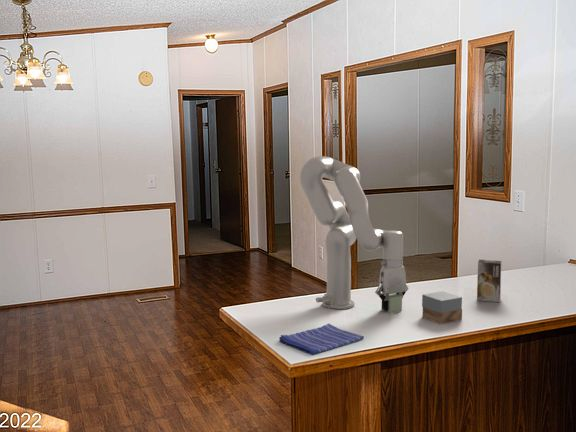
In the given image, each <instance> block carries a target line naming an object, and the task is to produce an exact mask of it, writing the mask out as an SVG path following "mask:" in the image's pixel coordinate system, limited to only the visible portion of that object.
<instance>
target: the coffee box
mask: <svg viewBox="0 0 576 432" xmlns="http://www.w3.org/2000/svg"><path fill="white" fill-rule="evenodd" d="M501 281H502V260H492V259H478V261H477V285H476V289H477V290H476V301H481V302H482V301H483V302H493V303H500V302H501V291H502V290H501V287H502V286H501V285H502V282H501Z"/></svg>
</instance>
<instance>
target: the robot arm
mask: <svg viewBox="0 0 576 432" xmlns="http://www.w3.org/2000/svg"><path fill="white" fill-rule="evenodd" d="M323 178H325V179H328V180H331V182H332V181H333V182H334V183H335V184H334V185H335V186H336V189H337V190H338V192H339V195H340V196H341V199H342V201H343V203H344V204H343V203H342V202H340V200H337V199H333V198H332V196H331V195H330V193H329V190H328V189H327V187H326V186H325V184H324V183H323ZM299 179H300V184H301V187H302V190H303V191H304V194H305V196H306V198H307V201H308V202H309V205H310V207H311V208H312V211H313V213H314V216H315V217H316V220H317V221H318V222H319V223H320V224H321V225H322V226H328V227H329V231H328V232H327V233H326V236H325V251H326V252H325V253H326V292H325V293H324V295H323V296H322V297H321V296H320V297H318V296H317V297H316V298H315V302H316V303H322V305H323V307H325V308H328V309H334V310H346V309H350V308H351V309H352V308H353V307H355V301H354V300H352V299H351V296H352V295H351V291H352V288H351V286H352V256H351V255H352V254H351V246H352V245H354V244H355V242H356V241H357V242H358V243H359V246H360V247H361V248H362V249H363V250H364V251H366V252H374V251H376V250H378V249H379V248H382V261H380V265H381V268H380V271H379V280H378V283H379V284H378V287H377V289H376V290H375V292H374V293H375V294H376V295H377V296H378V297H379V298H380V300H381V310H382V309H383V310H385V311H384V312H386V311H388V301H387V299H388V296H389V294H397V295H400V296H402V299H403V298H404V296H405V294H406V292H407V291H408V290H409V286H408V285H407V274H406V268H405V266H404V265H403V263H404V262H403V261H404V233H403V232H402V231H400V230H385V229H379V228H374V227H373V225H372V222H371V220H370V215H369V201H368V199H367V196H366V194H365V192H364V190H363V187H362V186H361V183H360V182H361V173H360V171H359V170H358V169H357V168H356V167H354V166H352V165H350V164H347V163H345V162H342V161H340V160H338V159H335V158H333V157H330V156H325V155H324V156H323V155H322V156H321V155H320V156H313V157H311V158H310V159H308V160H307V161H306V162H304V165H303V166H302V168H301V170H300V176H299ZM344 205H345V206H344ZM383 310H382V311H383Z"/></svg>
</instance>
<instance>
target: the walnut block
mask: <svg viewBox="0 0 576 432" xmlns="http://www.w3.org/2000/svg"><path fill="white" fill-rule="evenodd" d="M422 318H424V319H426V318H427V320H430V321H432V322H435V323H438V324H440V325H443V324H448V323H454V322H455V323H456V322H459V321H462V320H463V308H462V309H460V310H455V311H450V312H445V313H439V312H437V311H434V310H431V309H428V308H425V307H422Z"/></svg>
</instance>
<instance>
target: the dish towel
mask: <svg viewBox="0 0 576 432" xmlns="http://www.w3.org/2000/svg"><path fill="white" fill-rule="evenodd" d="M364 338H365V336H363V335H360V334H356V333H355V332H354V333H353V332H350V331H348V330H344V329H340V328H339V327H337V326H334V325H332V324H331V323H327V324H324V325H322V326H319V327H316V328H311V329H306V330H303V331H300V332H296V333H291V334H280V336H279V340H278V341H279V342H280V343H282V344H284V345H287V346H289V347H291V348H294V349H296V350H299V351H301V352H304V353H306V354H309V355H312V356H313V355H316V354H319V353H324V352H328V351H330V350H334V349H338V348H340V347H341V348H342V347H343V346H348V345H351V344H353V343H356V342H360V341H361V340H363V339H364Z"/></svg>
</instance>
